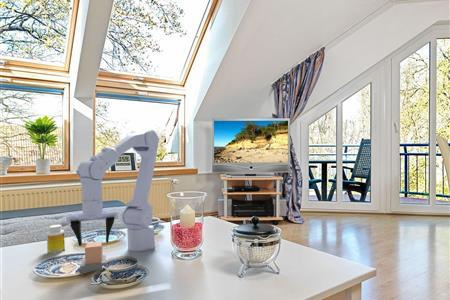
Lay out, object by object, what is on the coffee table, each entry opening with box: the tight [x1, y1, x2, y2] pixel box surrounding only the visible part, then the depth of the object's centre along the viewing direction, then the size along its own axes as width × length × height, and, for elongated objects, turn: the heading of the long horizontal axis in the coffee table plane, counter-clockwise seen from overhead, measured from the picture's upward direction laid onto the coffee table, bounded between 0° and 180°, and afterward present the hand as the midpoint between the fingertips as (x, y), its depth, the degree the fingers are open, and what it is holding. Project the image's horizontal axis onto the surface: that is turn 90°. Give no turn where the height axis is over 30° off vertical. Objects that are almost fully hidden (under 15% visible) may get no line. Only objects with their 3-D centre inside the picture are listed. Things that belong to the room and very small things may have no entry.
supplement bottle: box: [46, 224, 66, 254], centre depth 114 cm, size 6×6×10 cm
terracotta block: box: [84, 241, 104, 264], centre depth 98 cm, size 4×4×5 cm
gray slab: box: [80, 254, 107, 274], centre depth 98 cm, size 7×7×2 cm
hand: (93, 243), depth 98 cm, fingers open, 7 cm apart
